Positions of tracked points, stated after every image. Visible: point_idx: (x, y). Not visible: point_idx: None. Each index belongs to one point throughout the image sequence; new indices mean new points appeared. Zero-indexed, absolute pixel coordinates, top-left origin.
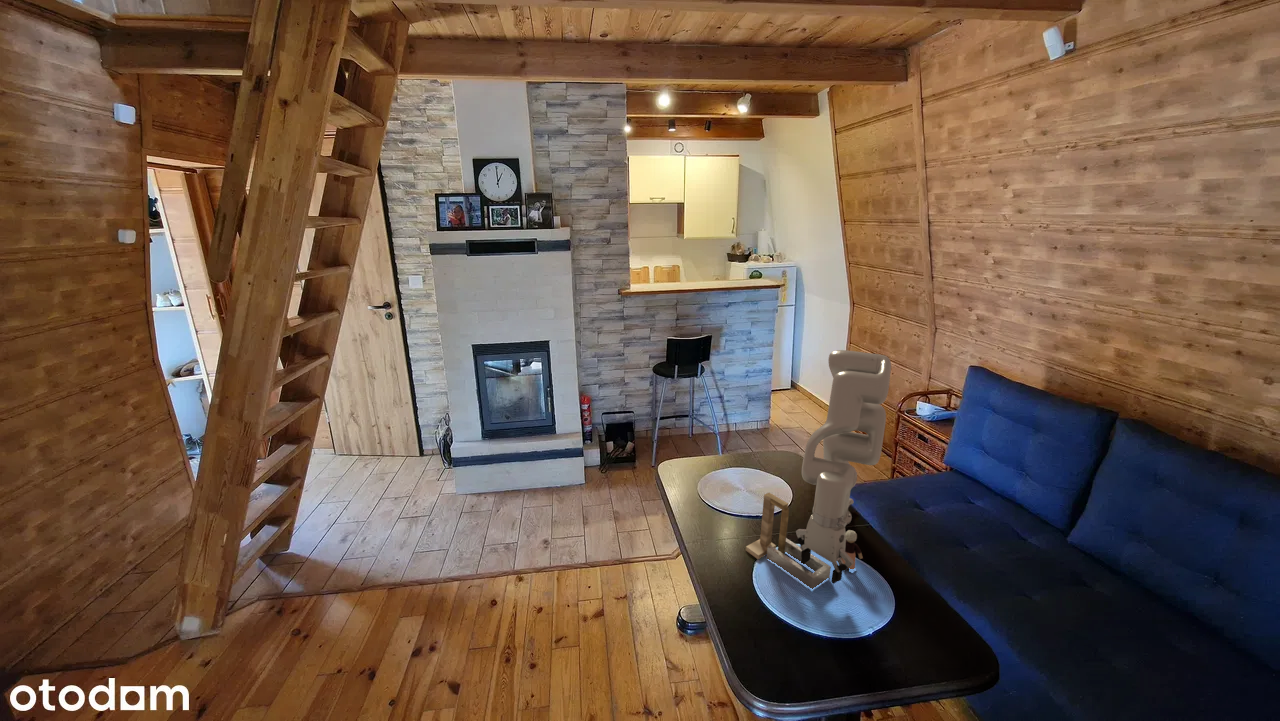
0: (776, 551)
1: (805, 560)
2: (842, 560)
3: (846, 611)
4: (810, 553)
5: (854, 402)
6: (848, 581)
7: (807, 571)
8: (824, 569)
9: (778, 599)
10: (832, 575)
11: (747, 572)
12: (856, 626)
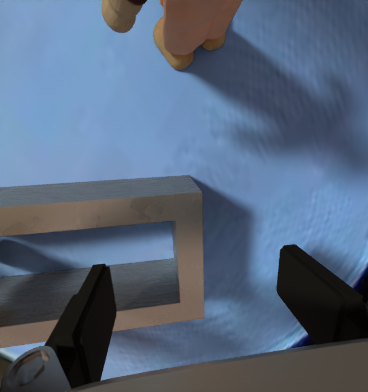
0: None
1: (111, 311)
2: (177, 38)
3: (302, 243)
4: (95, 297)
5: None
6: (239, 114)
7: (160, 313)
8: (196, 239)
9: (158, 362)
10: (304, 326)
11: None
12: (342, 261)
